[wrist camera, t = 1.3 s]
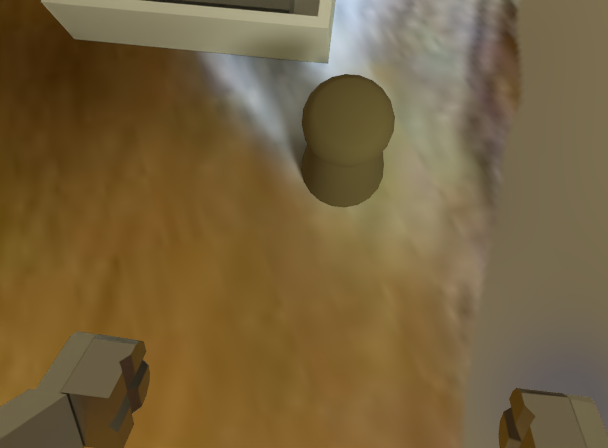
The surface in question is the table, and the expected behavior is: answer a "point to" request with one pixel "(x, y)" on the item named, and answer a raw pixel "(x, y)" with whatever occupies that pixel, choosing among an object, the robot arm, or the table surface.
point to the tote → (202, 27)
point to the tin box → (241, 4)
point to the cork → (346, 139)
